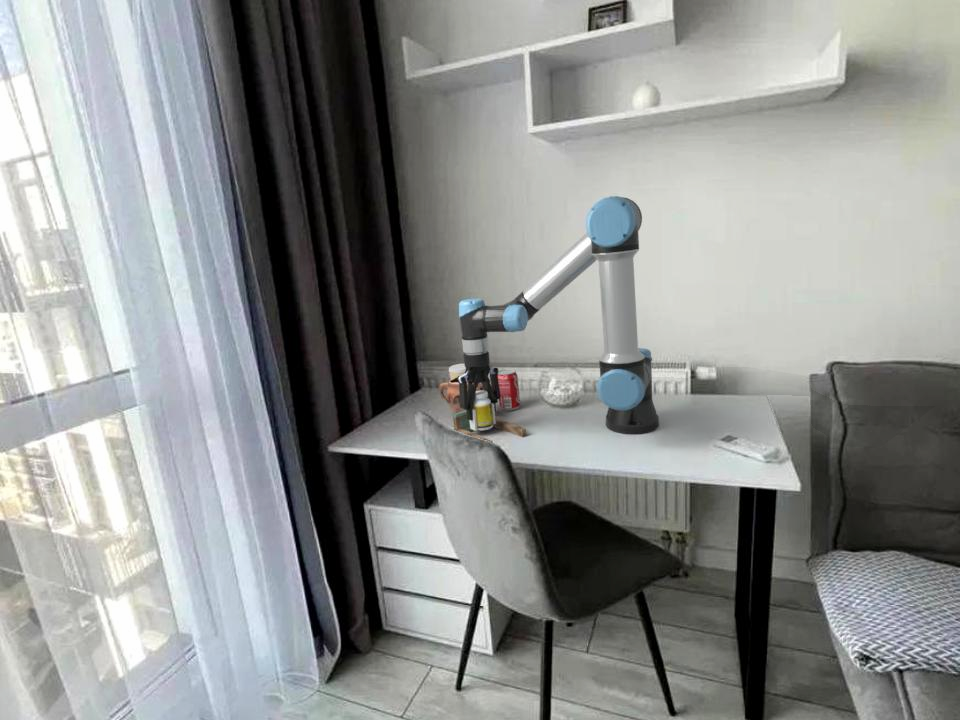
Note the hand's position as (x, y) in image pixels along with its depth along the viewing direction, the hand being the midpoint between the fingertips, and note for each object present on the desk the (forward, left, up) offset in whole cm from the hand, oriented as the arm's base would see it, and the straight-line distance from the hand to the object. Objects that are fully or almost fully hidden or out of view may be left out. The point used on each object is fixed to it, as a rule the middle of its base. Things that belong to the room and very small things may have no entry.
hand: (483, 426), depth 167 cm
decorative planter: (+15, -4, -2) cm, 16 cm away
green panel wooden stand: (-3, 0, -2) cm, 4 cm away
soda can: (+12, -20, -2) cm, 23 cm away
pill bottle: (0, 0, -1) cm, 1 cm away
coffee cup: (+35, -17, -2) cm, 39 cm away
